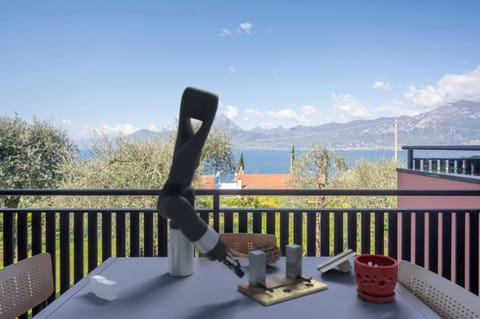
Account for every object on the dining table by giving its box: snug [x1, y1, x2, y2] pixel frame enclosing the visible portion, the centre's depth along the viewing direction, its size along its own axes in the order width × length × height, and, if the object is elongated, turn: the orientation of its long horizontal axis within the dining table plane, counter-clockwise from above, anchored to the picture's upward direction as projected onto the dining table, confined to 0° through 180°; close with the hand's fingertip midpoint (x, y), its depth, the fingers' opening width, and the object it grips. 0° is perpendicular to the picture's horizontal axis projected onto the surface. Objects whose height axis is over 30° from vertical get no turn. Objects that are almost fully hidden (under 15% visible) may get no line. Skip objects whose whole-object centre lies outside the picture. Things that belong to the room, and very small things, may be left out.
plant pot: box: [353, 253, 399, 303], centre depth 111 cm, size 13×13×12 cm
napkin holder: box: [89, 274, 118, 302], centre depth 112 cm, size 15×11×6 cm
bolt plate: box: [252, 278, 329, 307], centre depth 114 cm, size 26×7×1 cm, turn 123°
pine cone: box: [229, 240, 282, 266], centre depth 144 cm, size 22×10×10 cm, turn 80°
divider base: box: [237, 243, 313, 298], centre depth 119 cm, size 26×12×12 cm, turn 123°
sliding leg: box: [248, 250, 274, 293], centre depth 114 cm, size 4×10×11 cm, turn 33°
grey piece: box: [316, 248, 359, 274], centre depth 135 cm, size 16×9×15 cm
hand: (242, 275), depth 113 cm, fingers closed
